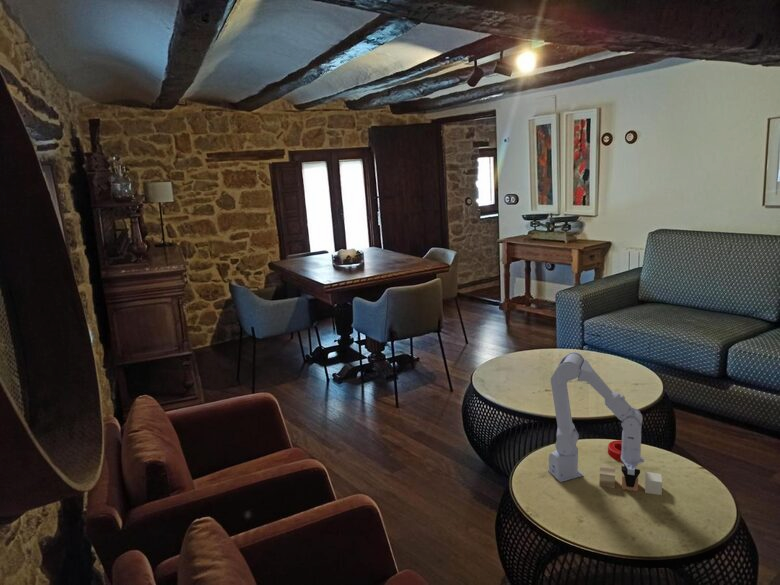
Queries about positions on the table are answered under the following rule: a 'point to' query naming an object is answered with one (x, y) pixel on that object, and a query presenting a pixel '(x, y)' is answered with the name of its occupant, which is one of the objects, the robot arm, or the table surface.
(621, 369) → the table surface
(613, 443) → the decorative ornament
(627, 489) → the terracotta cube
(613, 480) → the beech cube
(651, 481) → the cream cube
